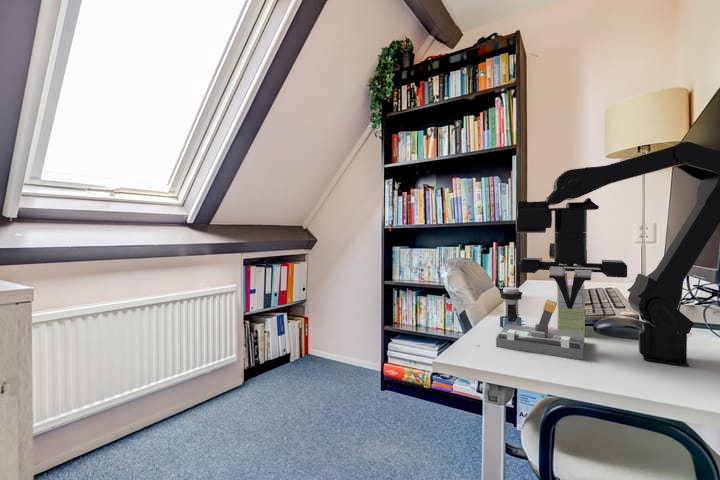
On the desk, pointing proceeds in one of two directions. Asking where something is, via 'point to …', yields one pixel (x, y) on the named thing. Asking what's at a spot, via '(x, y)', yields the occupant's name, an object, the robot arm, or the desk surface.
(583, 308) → the box
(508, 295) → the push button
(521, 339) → the breaker panel
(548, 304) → the lever
